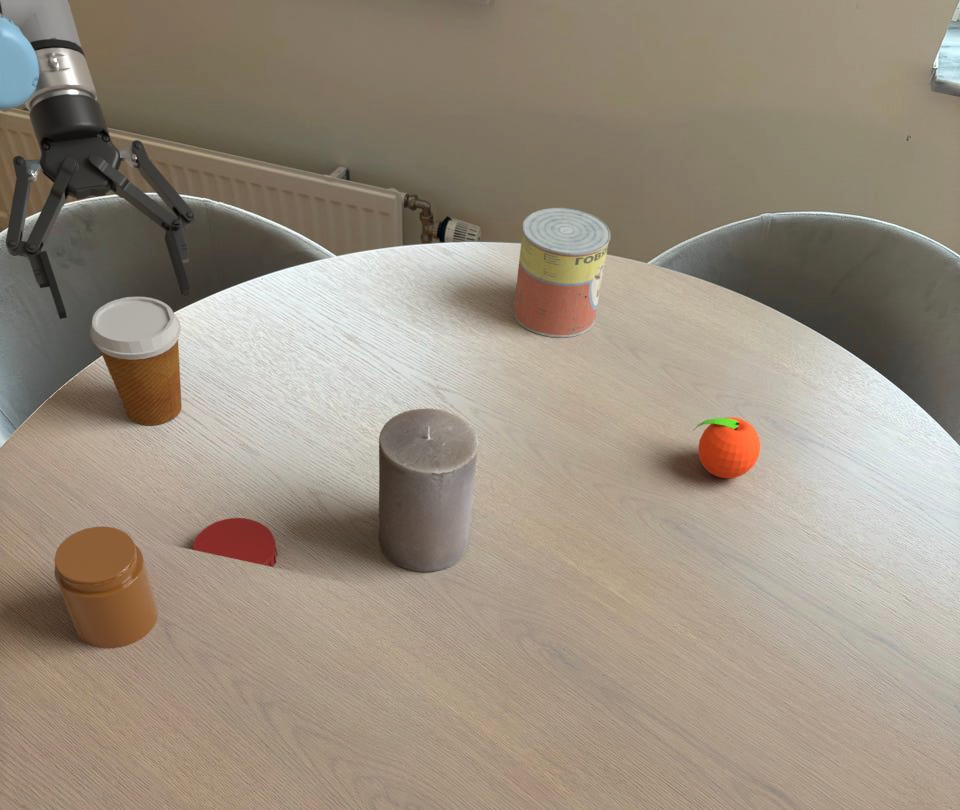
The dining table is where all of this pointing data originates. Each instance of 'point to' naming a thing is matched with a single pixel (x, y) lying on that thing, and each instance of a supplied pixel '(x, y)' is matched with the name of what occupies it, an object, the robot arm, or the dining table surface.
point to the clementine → (728, 447)
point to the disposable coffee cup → (141, 356)
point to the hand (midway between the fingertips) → (125, 304)
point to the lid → (238, 541)
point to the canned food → (560, 271)
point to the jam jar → (105, 587)
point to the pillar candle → (426, 488)
